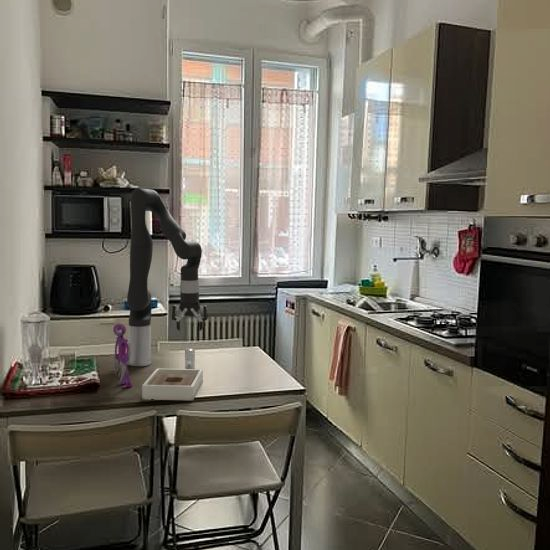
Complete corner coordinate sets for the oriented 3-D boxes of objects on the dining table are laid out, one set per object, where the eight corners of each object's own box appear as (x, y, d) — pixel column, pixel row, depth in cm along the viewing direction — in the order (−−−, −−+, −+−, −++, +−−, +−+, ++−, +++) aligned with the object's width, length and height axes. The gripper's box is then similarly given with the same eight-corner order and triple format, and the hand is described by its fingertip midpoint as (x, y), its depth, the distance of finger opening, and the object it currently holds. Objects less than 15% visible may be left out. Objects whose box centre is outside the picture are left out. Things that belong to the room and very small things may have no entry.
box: (142, 399, 200) (142, 385, 200) (156, 380, 222) (156, 368, 222) (193, 400, 200) (193, 386, 199) (202, 381, 222) (202, 369, 221)
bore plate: (150, 393, 204) (150, 384, 204) (159, 381, 218) (159, 373, 218) (189, 393, 204) (189, 385, 203) (195, 382, 218) (195, 374, 217)
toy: (103, 382, 219) (102, 321, 216) (121, 379, 223) (120, 319, 220) (119, 393, 206) (118, 328, 204) (137, 390, 210) (136, 326, 208)
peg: (184, 374, 231) (184, 350, 230) (185, 372, 235) (185, 348, 234) (193, 375, 231) (193, 350, 230) (195, 372, 235) (195, 348, 234)
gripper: (170, 292, 226) (170, 332, 227) (205, 292, 225) (206, 332, 227) (173, 289, 233) (174, 328, 235) (208, 289, 233) (208, 328, 234)
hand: (190, 330), depth 231 cm, fingers open, 8 cm apart
